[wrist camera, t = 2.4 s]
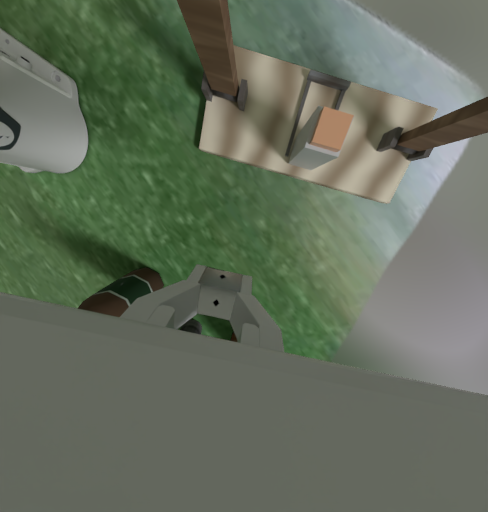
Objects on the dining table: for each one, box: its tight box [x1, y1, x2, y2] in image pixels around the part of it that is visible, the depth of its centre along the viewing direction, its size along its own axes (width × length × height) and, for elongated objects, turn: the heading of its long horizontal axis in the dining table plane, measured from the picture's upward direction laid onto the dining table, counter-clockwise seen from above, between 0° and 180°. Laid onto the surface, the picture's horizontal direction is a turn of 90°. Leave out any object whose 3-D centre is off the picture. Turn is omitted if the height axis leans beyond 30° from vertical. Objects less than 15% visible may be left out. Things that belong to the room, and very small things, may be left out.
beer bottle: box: [78, 267, 164, 317], centre depth 29 cm, size 8×8×24 cm
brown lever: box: [177, 0, 239, 102], centre depth 18 cm, size 2×4×18 cm, turn 75°
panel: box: [199, 45, 437, 203], centre depth 27 cm, size 34×14×5 cm, turn 75°
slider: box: [288, 105, 354, 170], centre depth 24 cm, size 4×4×11 cm
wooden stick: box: [391, 97, 488, 155], centre depth 19 cm, size 2×4×18 cm, turn 75°
